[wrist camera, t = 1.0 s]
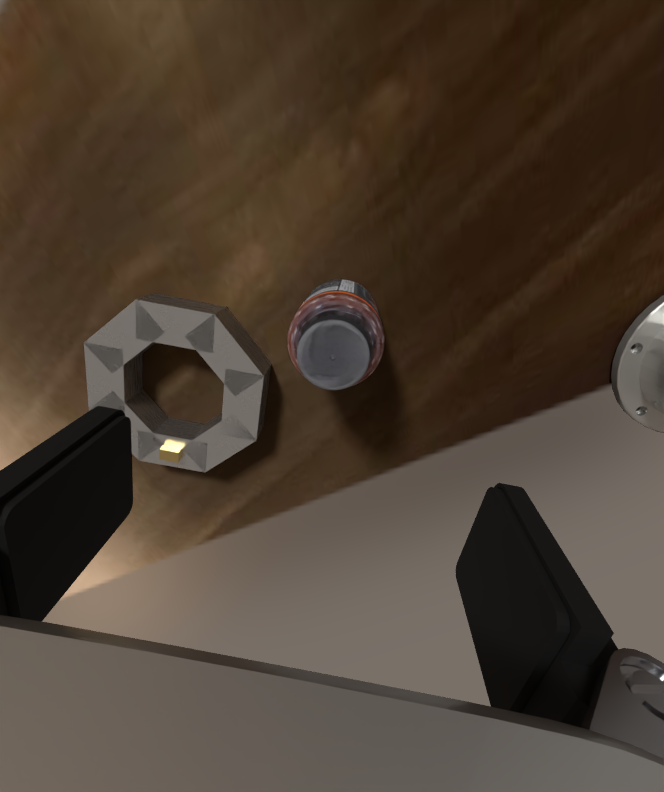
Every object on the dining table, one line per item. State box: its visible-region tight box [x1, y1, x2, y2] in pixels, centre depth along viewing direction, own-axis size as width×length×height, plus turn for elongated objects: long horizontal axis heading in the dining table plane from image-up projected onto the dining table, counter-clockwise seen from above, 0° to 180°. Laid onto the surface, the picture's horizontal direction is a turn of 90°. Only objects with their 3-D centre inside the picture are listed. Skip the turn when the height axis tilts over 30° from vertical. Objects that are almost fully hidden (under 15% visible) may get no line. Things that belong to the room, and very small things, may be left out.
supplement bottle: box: [287, 279, 385, 390], centre depth 26 cm, size 6×6×11 cm
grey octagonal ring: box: [84, 293, 272, 473], centre depth 33 cm, size 14×14×4 cm
